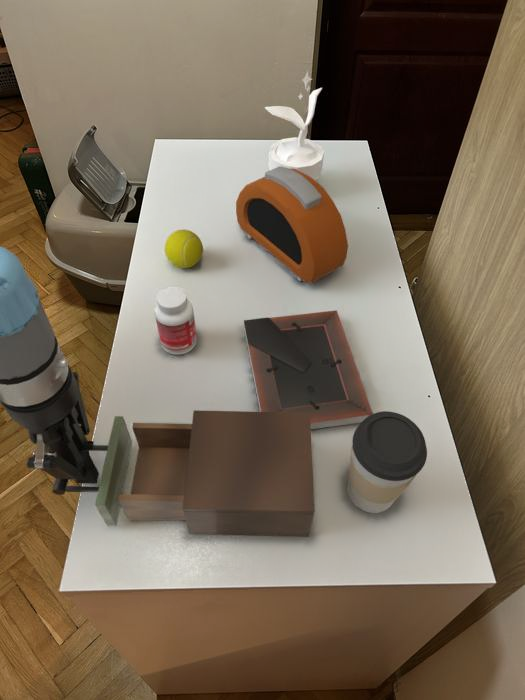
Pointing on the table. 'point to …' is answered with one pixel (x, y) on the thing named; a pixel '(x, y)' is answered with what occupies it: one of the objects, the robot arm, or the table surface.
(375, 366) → the table surface
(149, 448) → the drawer
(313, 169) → the potted plant
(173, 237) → the tennis ball
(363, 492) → the coffee cup
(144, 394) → the table surface
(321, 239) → the alarm clock
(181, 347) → the pill bottle
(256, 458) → the cabinet
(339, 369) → the picture frame
